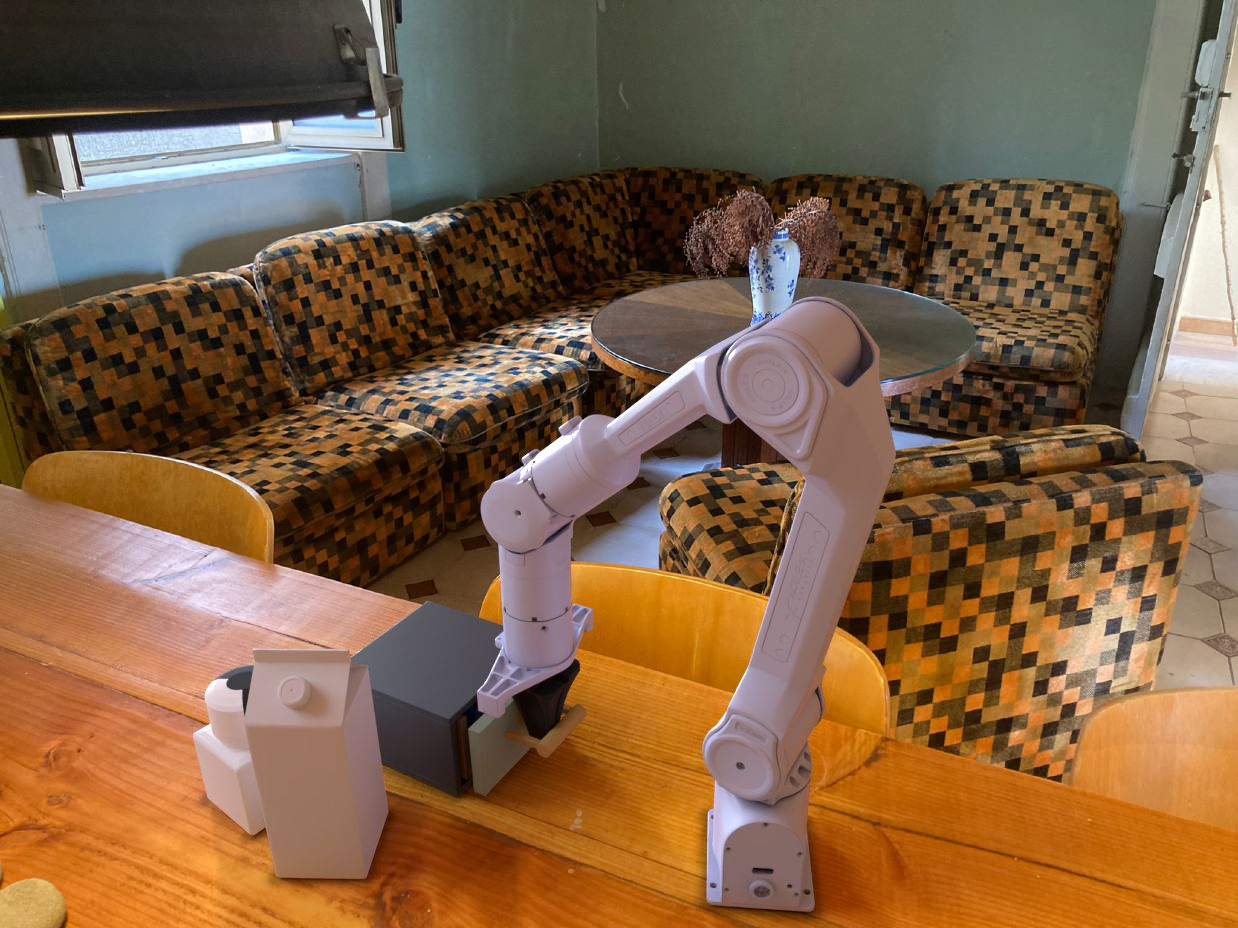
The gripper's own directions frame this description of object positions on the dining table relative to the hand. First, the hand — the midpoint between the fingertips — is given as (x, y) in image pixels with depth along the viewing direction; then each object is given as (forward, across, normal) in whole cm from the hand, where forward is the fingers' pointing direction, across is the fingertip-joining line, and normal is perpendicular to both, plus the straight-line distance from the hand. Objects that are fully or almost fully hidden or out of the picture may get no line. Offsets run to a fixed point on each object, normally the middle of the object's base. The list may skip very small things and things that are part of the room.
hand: (542, 734), depth 85 cm
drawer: (+3, 0, -6) cm, 6 cm away
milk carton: (+4, +16, -10) cm, 19 cm away
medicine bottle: (+4, +14, -19) cm, 24 cm away
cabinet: (+4, 0, -11) cm, 12 cm away
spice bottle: (+2, 0, -7) cm, 7 cm away
